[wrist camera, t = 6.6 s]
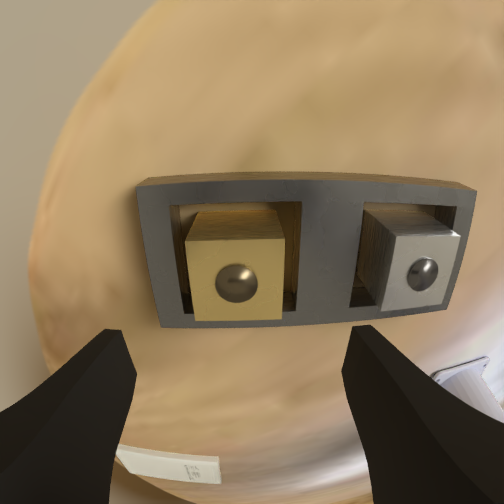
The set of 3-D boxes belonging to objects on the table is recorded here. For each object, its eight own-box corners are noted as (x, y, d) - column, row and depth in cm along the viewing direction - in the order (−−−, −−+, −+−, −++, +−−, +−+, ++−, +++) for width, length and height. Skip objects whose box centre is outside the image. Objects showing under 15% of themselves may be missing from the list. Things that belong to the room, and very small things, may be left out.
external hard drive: (114, 438, 27) (218, 452, 27) (132, 464, 30) (221, 476, 31) (111, 449, 25) (218, 464, 26) (130, 474, 29) (221, 486, 29)
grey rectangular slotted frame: (432, 293, 18) (446, 309, 16) (168, 307, 18) (161, 327, 16) (457, 182, 15) (477, 190, 13) (148, 177, 14) (135, 186, 13)
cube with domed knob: (410, 269, 17) (442, 305, 14) (356, 272, 17) (381, 313, 13) (422, 210, 16) (462, 237, 12) (364, 209, 16) (398, 237, 12)
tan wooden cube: (274, 276, 17) (281, 321, 13) (204, 278, 17) (195, 322, 13) (275, 209, 15) (285, 240, 12) (198, 211, 15) (184, 242, 12)
